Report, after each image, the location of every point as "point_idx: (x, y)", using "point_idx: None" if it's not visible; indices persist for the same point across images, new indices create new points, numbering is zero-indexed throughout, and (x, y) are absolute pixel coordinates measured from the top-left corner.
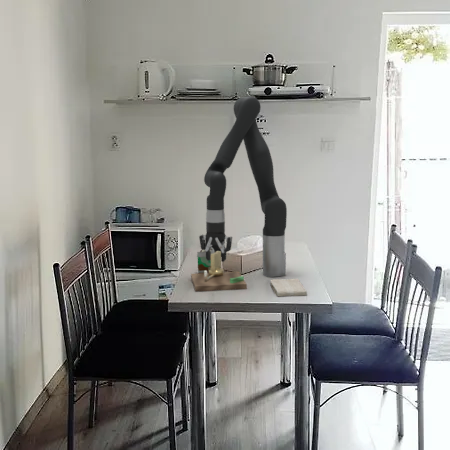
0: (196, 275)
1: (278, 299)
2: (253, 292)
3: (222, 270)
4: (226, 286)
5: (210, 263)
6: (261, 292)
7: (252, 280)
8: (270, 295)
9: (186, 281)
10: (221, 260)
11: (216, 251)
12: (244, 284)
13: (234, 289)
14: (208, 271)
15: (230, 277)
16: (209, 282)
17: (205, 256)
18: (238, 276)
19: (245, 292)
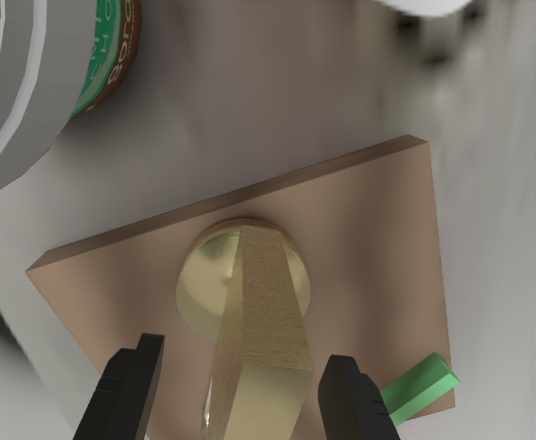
0: (93, 308)
1: None
2: (465, 416)
3: (305, 309)
4: None
5: (106, 56)
6: (503, 410)
7: (497, 229)
8: (532, 434)
9: (51, 319)
10: (320, 407)
11: (237, 401)
12: (442, 407)
13: None
14: (119, 77)
15: (360, 313)
16: None
17: (11, 181)
18: (418, 282)
19: (428, 422)
